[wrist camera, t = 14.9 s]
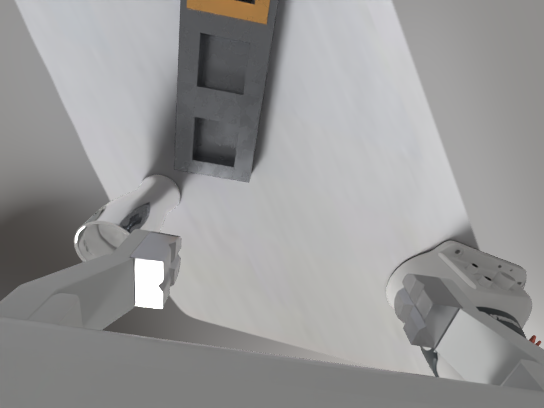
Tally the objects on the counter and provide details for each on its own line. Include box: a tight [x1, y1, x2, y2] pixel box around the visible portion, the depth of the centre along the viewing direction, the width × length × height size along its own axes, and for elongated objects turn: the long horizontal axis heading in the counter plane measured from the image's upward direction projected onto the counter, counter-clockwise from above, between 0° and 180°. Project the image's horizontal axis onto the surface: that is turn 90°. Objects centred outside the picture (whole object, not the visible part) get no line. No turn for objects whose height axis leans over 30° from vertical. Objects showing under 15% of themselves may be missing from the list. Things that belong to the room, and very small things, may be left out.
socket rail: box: [174, 0, 278, 183], centre depth 34 cm, size 27×10×4 cm, turn 170°
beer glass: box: [74, 175, 180, 262], centre depth 36 cm, size 7×7×15 cm
